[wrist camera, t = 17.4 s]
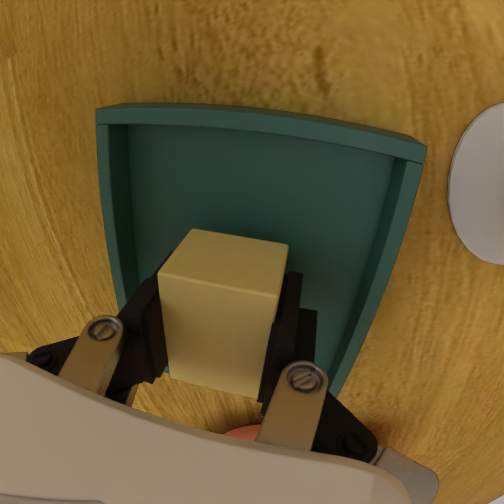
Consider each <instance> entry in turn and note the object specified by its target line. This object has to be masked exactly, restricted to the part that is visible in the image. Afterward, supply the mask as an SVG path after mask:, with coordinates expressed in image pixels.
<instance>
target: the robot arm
mask: <svg viewBox="0 0 504 504" xmlns="http://www.w3.org/2000/svg"><path fill="white" fill-rule="evenodd" d="M174 251H175V250H172V251H171V252H170V253H169V254H168V256H167V257H166V258H165V259H164V261H163V262H162V263H161V264H160V266H159V267H158V268H157V270H156V271H155V272H154V273H153V275H152V276H151V277H150V278H149V277H148V278H146V279H145V280H144V281H143V282H142V284H141V285H140V286H139V287H138V289H137V290H136V291H135V293H134V294H133V295H132V296H131V298H130V299H129V300H128V302H127V303H126V304H125V306H124V307H123V308H122V310H121V311H120V312H119V314H118V315H117V316H116V317H114V316H111V315H102V316H98V317H95V318H93V319H92V320H90V321H89V322H88V323H87V324H86V326H85V327H84V329H83V331H82V333H81V334H80V336H78V337H74V338H71V339H67V340H63V341H60V342H56V343H53V344H49V345H45V346H42V347H39V348H37V349H35V350H34V351H32V352H31V354H30V355H29V354H28V352H13V353H0V504H432V503H433V501H434V499H435V497H436V494H437V492H438V489H439V485H440V484H439V478H438V477H437V475H436V473H435V472H433V471H432V470H431V469H429V468H427V467H425V466H423V465H421V464H419V463H417V462H415V461H414V460H412V459H410V458H408V457H406V456H404V455H402V454H401V453H399V452H397V451H395V450H393V449H392V448H390V447H388V446H387V447H386V448H384V447H382V446H380V445H378V443H377V440H376V437H375V436H374V435H373V434H372V432H371V431H370V430H369V429H368V428H366V427H365V426H364V425H363V424H362V423H361V422H360V421H359V420H358V419H357V418H356V417H355V416H354V415H353V414H352V413H351V412H350V411H349V410H348V409H346V408H345V407H344V406H343V405H342V404H341V403H340V402H339V401H338V400H337V399H336V398H335V397H334V396H333V395H332V394H331V393H330V392H329V391H328V390H327V386H328V377H327V374H326V372H325V371H324V370H323V368H322V367H320V366H319V365H317V364H316V363H315V349H316V333H317V315H318V312H317V310H311V309H305V308H299V307H300V299H301V290H302V281H303V273H300V272H294V271H289V274H284V277H283V282H282V287H281V292H280V297H279V302H278V307H277V311H276V316H275V321H274V322H273V323H272V327H271V331H270V336H269V340H268V345H267V350H266V355H265V361H264V366H263V371H262V377H261V382H260V387H259V393H258V398H257V402H260V403H263V404H262V409H261V414H262V415H263V416H264V419H263V421H262V424H261V426H260V429H259V431H258V433H257V436H256V438H255V441H254V442H253V441H248V440H244V439H239V438H234V437H230V436H226V435H222V434H217V433H213V432H209V431H206V430H202V429H198V428H195V427H191V426H187V425H184V424H180V423H177V422H174V421H170V420H167V419H164V418H161V417H158V416H155V415H152V414H149V413H146V412H143V411H140V410H137V409H134V408H132V404H133V401H134V398H135V395H136V392H137V389H138V384H140V383H143V381H145V382H148V383H151V384H153V382H154V380H155V378H156V377H158V378H159V377H161V375H162V373H163V371H164V369H165V367H166V365H167V363H168V355H167V348H166V341H165V333H164V325H163V317H162V309H161V300H160V295H159V285H158V271H159V270H160V269H161V268H162V266H163V265H164V264H165V262H166V261H167V260H168V258H169V257H170V256H171V255H172V253H173V252H174Z"/></svg>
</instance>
